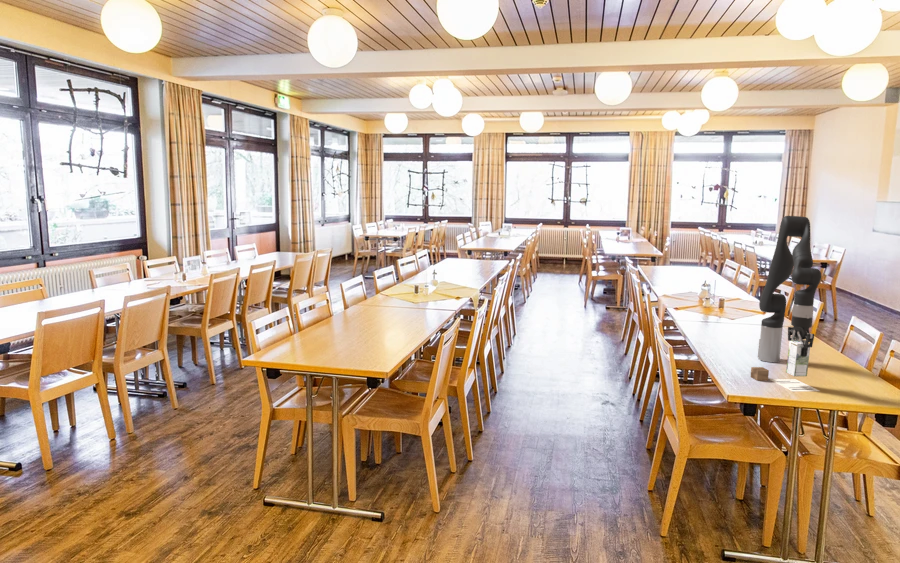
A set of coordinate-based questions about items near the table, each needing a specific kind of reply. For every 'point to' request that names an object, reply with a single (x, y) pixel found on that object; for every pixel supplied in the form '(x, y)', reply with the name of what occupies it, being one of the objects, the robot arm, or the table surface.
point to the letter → (793, 385)
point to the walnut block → (759, 373)
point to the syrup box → (797, 360)
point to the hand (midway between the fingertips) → (798, 354)
